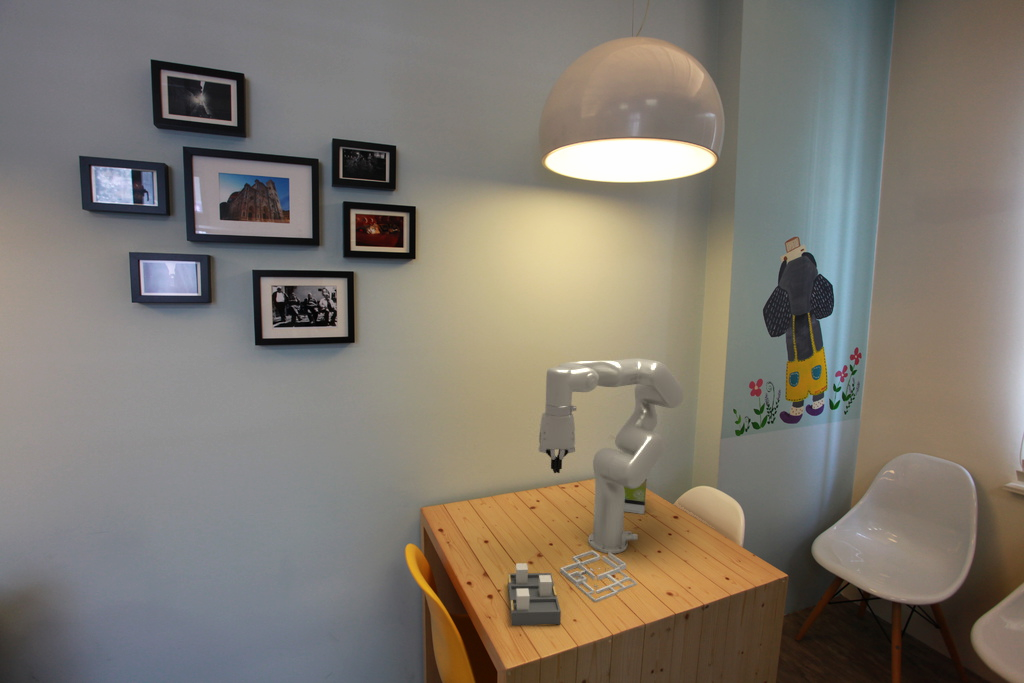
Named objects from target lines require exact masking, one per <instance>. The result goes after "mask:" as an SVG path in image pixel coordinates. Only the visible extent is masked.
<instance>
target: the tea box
mask: <svg viewBox="0 0 1024 683" xmlns="http://www.w3.org/2000/svg"><path fill="white" fill-rule="evenodd" d="M647 478H648V477H647ZM647 478H646V479H645V481H644V482H643V483H642V484H641V485H640V486H639V487H638V488H635V489H630V488H627V487H625V486H624V490H625V502H624V513H625V512H626V513H632V514H639V515H644V514H645V508H646V495H647V494H646V493H647V482H648V481H647Z"/></svg>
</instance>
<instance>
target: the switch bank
mask: <svg viewBox="0 0 1024 683" xmlns="http://www.w3.org/2000/svg"><path fill="white" fill-rule="evenodd" d="M539 575H550V576H551V580H552V597H540V594H539ZM525 588H528V590H529V596H530V597H529V610H517V608H516V589H525ZM507 589H508V590H507V591H508V592H507V593H508V601H509V602H508V603H509V611H510V612H509V613H510V622H511V623H510V624H511V626H542V625H541V624H558V625H561V615H562V611H561V607H560V603H559V599H558V595H557V590H556V587H555V583H554V580H553V575H552V572H543V573H542V572H534V573H532V572H531V573H530V572H528V582H527V584H516V572H515V573H507ZM538 624H540V625H538Z"/></svg>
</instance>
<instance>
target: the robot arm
mask: <svg viewBox="0 0 1024 683" xmlns="http://www.w3.org/2000/svg"><path fill="white" fill-rule="evenodd" d="M545 378H546V380H545V412H542V415H541V420H540V424H539V426H540V427H539V435H538V436H539V437H538V442H539V446H538V451H539V453H543V454H546V455H547V456H548V457H549V458H550V469H551V470H552V471H553V473H554V474H556V473H557V474H560V473H561V470H562V468H563V460H564V458H565V457H566V456H568V454H572V453H575V452H576V426H575V416H574V414H573V412H575V411H576V412H577V406H576V405H572V402H573V400H572V399H573V398H572V397H573V393H574V392H575V393H589V392H592V391H594V390H595V389H596V388H597V387H603V388H618V387H625V386H632V385H634V386H635V387H634V400H635V406H634V410H633V412H632V414H631V415H630V417H628V420H627V421H626V422H625V423H624V425H623V426H622V427H621V429H620V430H619V431H618V433H617V434H616V436H615V439H614V443H615V444H614V445H615V447H616V448H617V449H618V450H617V449H614V448H611V447H604V448H600V449H599V450H598V451H596V453H595V454H594V456H593V459H592V460H593V461H592V467H593V473H594V474H593V475H594V484H595V485H594V504H593V505H594V508H593V529H592V530H593V532H591V534H589V536H588V537H587V542H588V545H589V546H590V547H591V548H592V549H593V550H596V551H598V552H601V553H603V554H608V552H610V553H611V554H613V555H614V554H619V553H622V552H624V551H626V550H627V548H628V542H629V541H638V540H639V538H638V534H637V533H632V531H631V530H626V531H625V530H624V521H625V520H624V519H625V515H624V514H625V511H624V502H625V490H624V486H625V487H627V488H630V489H635V488H638V487H639V486H640V485H641V484H642V483H643V482H644V481H645V479H646V478H648V477H649V475H650V474H651V473H652V471H653V470H654V468H655V467H656V465H657V464H658V463H659V461H660V460H661V459H662V456H663V453H664V450H665V443H664V442H665V441H664V438H663V436H662V435H661V434H659V433H657V432H656V431H654V430H655V428H656V427H657V424H658V415H657V412H656V407H655V405H656V406H659V407H662V408H663V407H664V408H665V409H675V408H676V409H677V407H679V406H680V405H681V404H682V403H683V400H684V391H683V388H682V386H681V384H680V383H679V381H678V380H677V379H676V377H675V376H674V374H673V373H672V371H671V370H670V369H669V368H668V367H667V366H666V365H665V364H664V363H662V362H661V361H658V360H652V359H648V358H647V359H646V358H636V357H635V358H634V357H633V358H625V359H615V360H614V359H613V360H589V361H588V360H587V361H585V360H583V361H569V362H563V363H561V364H560V365H558V366H555V367H554V366H552V367H549V368H548V369H547V371H546V376H545ZM555 450H558V452H557V455H556V451H555Z"/></svg>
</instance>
